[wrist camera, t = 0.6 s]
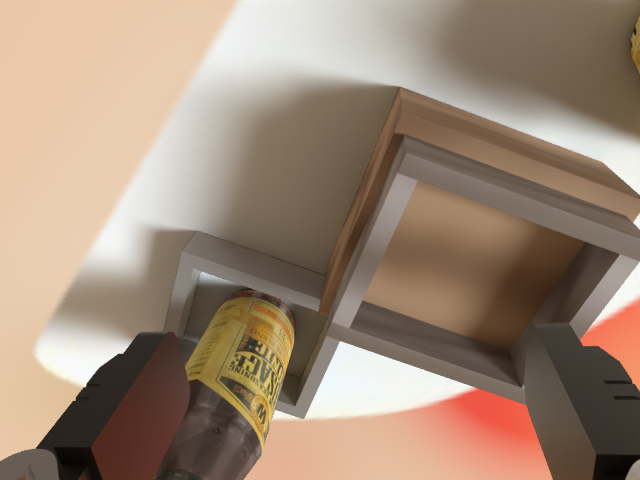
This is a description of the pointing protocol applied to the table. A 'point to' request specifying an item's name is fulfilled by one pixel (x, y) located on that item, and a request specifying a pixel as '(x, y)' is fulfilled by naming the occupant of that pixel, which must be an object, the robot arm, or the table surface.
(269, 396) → the sauce bottle
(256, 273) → the low holder
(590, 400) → the robot arm
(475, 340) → the walnut dock
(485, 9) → the table surface
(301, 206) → the table surface
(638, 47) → the chocolate bunny
